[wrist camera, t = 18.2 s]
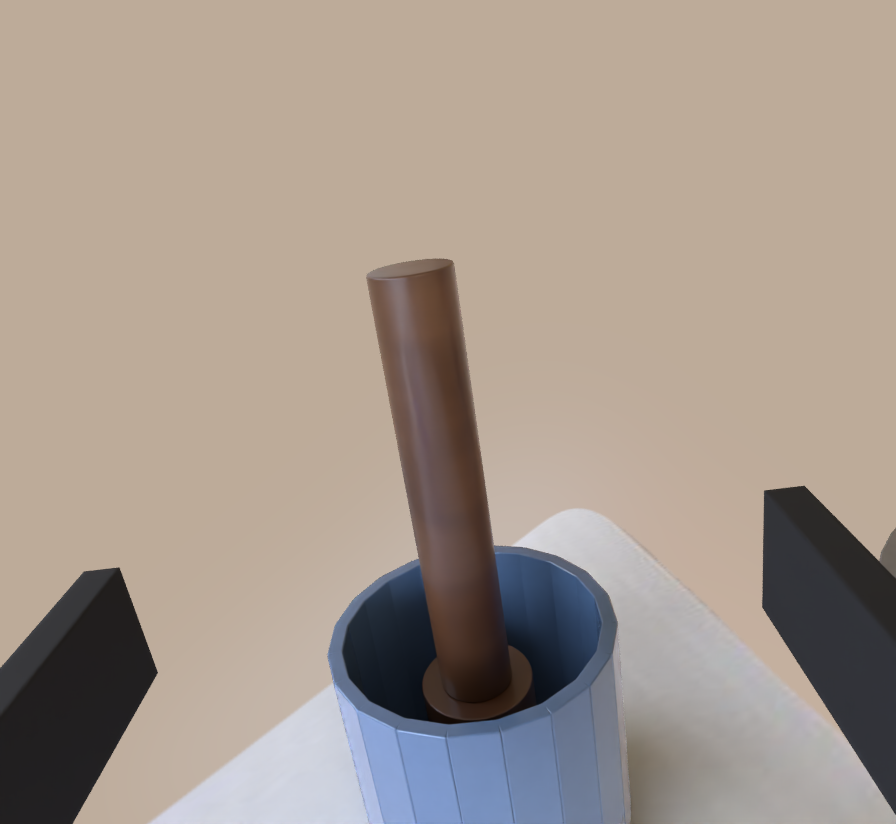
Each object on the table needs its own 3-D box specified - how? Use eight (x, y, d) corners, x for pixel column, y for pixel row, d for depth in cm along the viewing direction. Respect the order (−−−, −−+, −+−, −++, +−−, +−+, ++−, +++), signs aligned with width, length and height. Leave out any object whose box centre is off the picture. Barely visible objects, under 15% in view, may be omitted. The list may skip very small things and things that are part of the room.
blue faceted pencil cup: (603, 712, 31) (588, 532, 27) (662, 941, 22) (649, 717, 19) (389, 734, 31) (350, 560, 28) (363, 966, 22) (302, 752, 19)
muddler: (543, 757, 28) (477, 247, 21) (555, 848, 24) (481, 269, 17) (447, 767, 28) (350, 266, 21) (446, 858, 25) (329, 291, 18)
